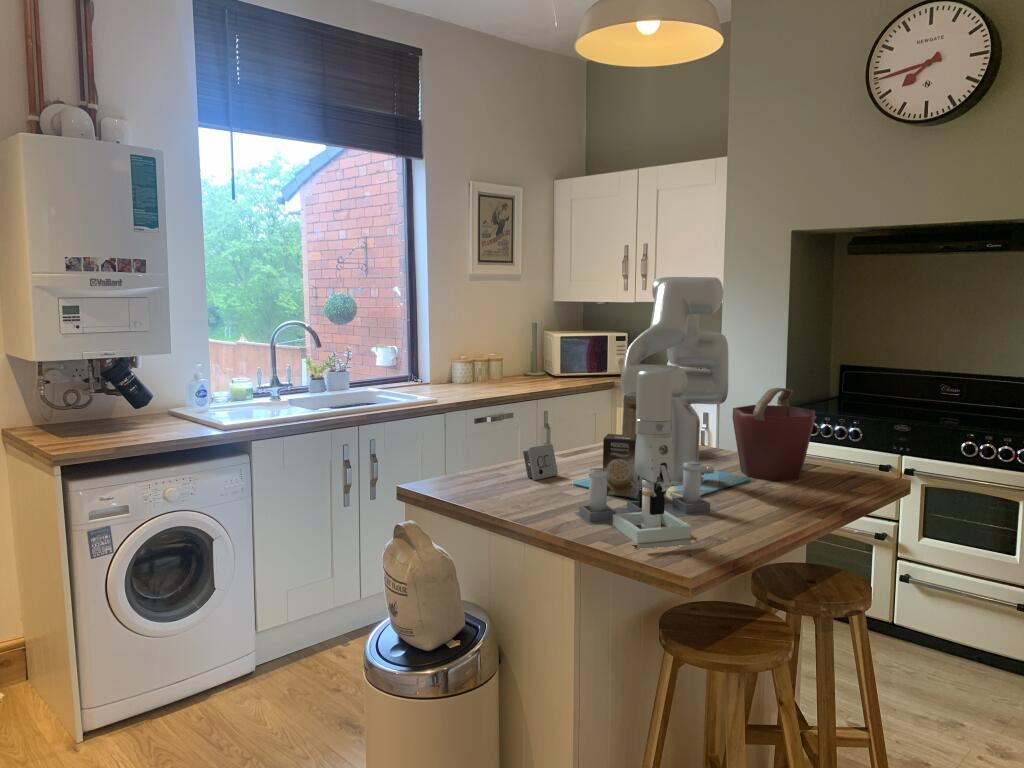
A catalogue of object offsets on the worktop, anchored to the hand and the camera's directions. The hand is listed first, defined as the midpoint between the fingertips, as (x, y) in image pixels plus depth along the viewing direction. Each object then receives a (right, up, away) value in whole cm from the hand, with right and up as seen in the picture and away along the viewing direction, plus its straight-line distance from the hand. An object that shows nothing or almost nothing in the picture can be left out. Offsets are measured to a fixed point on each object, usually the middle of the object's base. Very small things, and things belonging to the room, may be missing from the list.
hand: (651, 509), depth 167 cm
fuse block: (+1, -4, +15) cm, 15 cm away
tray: (0, -6, +1) cm, 6 cm away
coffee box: (-2, -2, +32) cm, 32 cm away
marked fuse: (0, -4, +1) cm, 4 cm away
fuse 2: (+13, -3, +18) cm, 22 cm away
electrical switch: (-22, 0, +54) cm, 59 cm away
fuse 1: (-10, -3, +11) cm, 16 cm away
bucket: (+46, +1, +58) cm, 74 cm away
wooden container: (+14, +5, +91) cm, 92 cm away
